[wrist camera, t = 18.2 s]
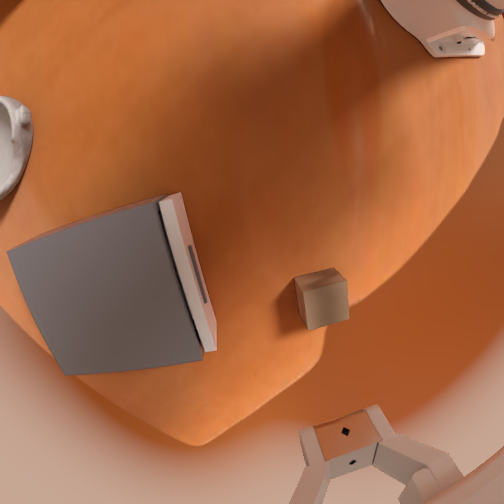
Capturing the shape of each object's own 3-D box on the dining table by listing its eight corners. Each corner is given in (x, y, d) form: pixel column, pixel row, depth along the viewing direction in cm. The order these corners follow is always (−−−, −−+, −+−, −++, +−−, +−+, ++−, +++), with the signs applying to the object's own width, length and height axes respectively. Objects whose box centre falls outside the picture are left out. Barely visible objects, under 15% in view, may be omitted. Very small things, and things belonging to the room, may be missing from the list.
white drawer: (183, 191, 29) (175, 197, 23) (219, 321, 34) (219, 349, 28) (46, 233, 28) (20, 247, 22) (91, 342, 33) (75, 368, 27)
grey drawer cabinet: (167, 193, 29) (152, 202, 22) (205, 324, 34) (203, 360, 27) (39, 235, 28) (6, 251, 21) (84, 344, 33) (65, 375, 26)
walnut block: (333, 267, 33) (347, 280, 30) (336, 303, 35) (349, 318, 31) (293, 277, 33) (303, 292, 29) (299, 313, 35) (308, 330, 31)
